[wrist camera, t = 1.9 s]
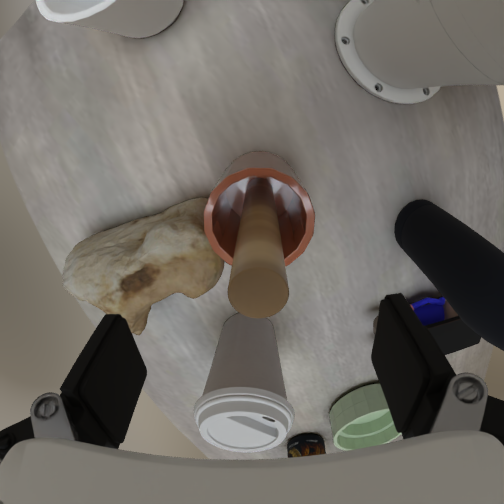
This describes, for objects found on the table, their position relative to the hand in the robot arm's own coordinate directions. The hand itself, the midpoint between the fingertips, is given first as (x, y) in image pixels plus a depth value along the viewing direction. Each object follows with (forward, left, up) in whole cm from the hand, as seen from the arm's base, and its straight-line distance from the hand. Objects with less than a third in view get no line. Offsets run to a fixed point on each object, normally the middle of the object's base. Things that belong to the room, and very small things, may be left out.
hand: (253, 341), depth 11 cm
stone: (+11, -7, -22) cm, 25 cm away
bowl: (+25, +31, -22) cm, 45 cm away
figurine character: (+5, +26, -22) cm, 34 cm away
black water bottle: (-4, +18, -22) cm, 29 cm away
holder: (0, 0, -22) cm, 22 cm away
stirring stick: (0, 0, -21) cm, 21 cm away
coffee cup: (+17, +6, -22) cm, 28 cm away
